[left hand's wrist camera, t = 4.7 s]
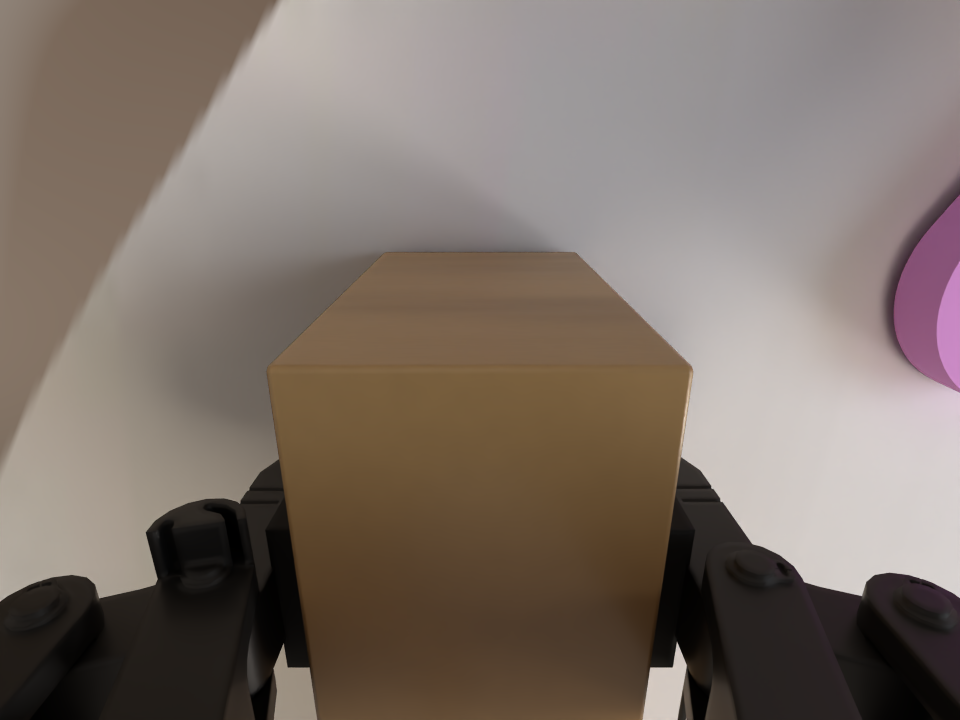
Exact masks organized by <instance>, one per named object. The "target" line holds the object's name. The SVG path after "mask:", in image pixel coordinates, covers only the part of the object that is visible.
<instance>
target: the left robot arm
mask: <svg viewBox="0 0 960 720" xmlns="http://www.w3.org/2000/svg"><path fill="white" fill-rule="evenodd" d="M146 535H147V539H148V543H149V547H150V551H151V555H152V558H153V562H154V566H155V570H156V574H157V578H158V580H157V582H156V585H154V586H150V587H147V588H144V589H140V590H135V591H131V592H126V593H122V594H117V595H113V596H108V597H104V598H99V596H98V593H97V590H96V587H95V584H94V583H92V582H91V581H90V580H89V579H88V578H87V577H81V576H74V575H69V576H61V577H53V578H49V579H46V580H42V581H40V582H36V583H34V584H31V585H29V586H27V587H25V588H23V589H21V590H19V591H17V592H15V593H13V594H11V595H9V596H7V597H6V598H5V599H3V600H2V601H1V602H0V720H274V712H275V703H276V694H277V688H276V681H275V674H274V669H273V668H274V666H275V663H276V661H277V658H278V656H279V653H280V651H281V648H282V646H283V643H284V647H285V653H286V659H287V665H288V667H310V666H309V659H308V652H307V645H306V638H305V631H304V625H303V618H302V611H301V604H300V597H299V590H298V584H297V577H296V570H295V563H294V556H293V549H292V543H291V536H290V529H289V522H288V515H287V508H286V502H285V495H284V488H283V481H282V474H281V467H280V461H279V460H277V461H276V462H275V463H273V464H272V465H270V466H269V467H267V468H266V469H264V470H263V471H262V472H260V474H259V475H258V476H257V478H256V479H255V481H254V482H253V484H252V485H251V486H250V490H249V491H247V492H246V494H245V495H244V496H243V498H242V499H241V503H240V504H239V503H238V502H236V501H232V500H228V499H205V500H200V501H196V502H191V503H188V504H185V505H183V506H180V507H178V508H176V509H173V510H171V511H169V512H168V513H166V514H165V515H163V516H162V517H160V518H159V519H157V520H156V521H155V522H154V523H153V524H152V525H151V527H150V528H149V529H148V530H147V532H146ZM677 642H678V645H679V647H680V649H681V652H682V654H683V657H684V659H685V662H686V664H687V669H686V674H685V680H684V686H683V691H682V697H681V702H680V708H679V714H678V720H960V598H959V597H957V596H956V595H955V594H953V593H951V592H949V591H947V590H945V589H943V588H941V587H939V586H937V585H935V584H934V583H931V582H929V581H926V580H923V579H919V578H917V577H913V576H910V575H903V574H895V573H885V574H879V575H874V576H873V577H872V578H871V579H870V580H868V581H867V582H866V585H865V588H864V592H863V595H862V596H858V595H854V594H849V593H845V592H840V591H836V590H831V589H827V588H822V587H818V586H815V585H811V584H808V583H804V581H803V579H802V578H801V576H800V575H799V573H798V572H797V570H796V569H795V568H794V566H793V565H791V564H790V563H789V562H788V561H786V560H785V559H784V558H782V557H781V556H780V555H778V554H776V553H774V552H772V551H770V550H768V549H765V548H763V547H761V546H757V545H753V544H752V543H751V542H750V540H749V539H748V537H747V536H746V535H745V533H744V532H743V530H742V529H741V528H740V526H739V525H738V523H737V522H736V520H735V519H734V518H733V516H732V515H731V513H730V512H729V511H728V509H727V508H726V506H725V505H724V503H723V502H720V498H719V496H718V495H717V494H716V492H715V491H714V489H711V485H710V484H709V482H708V481H707V479H706V478H705V477H704V475H703V474H702V472H701V471H700V470H699V469H697V468H696V467H694V466H693V465H691V464H690V463H689V462H687V461H686V460H684V459H683V458H681V459H680V466H679V473H678V480H677V487H676V494H675V500H674V507H673V514H672V521H671V528H670V535H669V541H668V548H667V555H666V562H665V569H664V576H663V582H662V589H661V596H660V603H659V610H658V617H657V623H656V630H655V637H654V644H653V651H652V658H651V664H650V667H673V662H674V656H675V650H676V644H677Z"/></svg>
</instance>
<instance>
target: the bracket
mask: <svg viewBox="0 0 960 720" xmlns="http://www.w3.org/2000/svg"><path fill="white" fill-rule="evenodd" d="M894 325H895V331H896V335H897V339H898V342H899V344H900V347H901V349H902V351H903V352H904V354H905V356H906V357H907V358H908V360H909V361H910V362H911V364H912V365H913V366H914V367H916V368H917V369H918V370H919V371H920V372H921V373H923V374H924V375H926V376H927V377H929V378H931V379H933V380H935V381H937V382H939V383H941V384H943V385H945V386H947V387H949V388H951V389H953V390H956V391H958V392H960V195H959V196H958V197H957V198H956V199H955V200H954V202H953V203H952V204H951V205H950V206H949V207H948V208H947V209H946V211H945V212H944V213H943V214H942V215H941V216H940V217H939V218H938V219H937V221H936V222H935V223H934V224H933V225H932V226H931V227H930V229H929V230H928V231H927V232H926V233H925V235H924V236H923V237H922V238H921V240H920V241H919V243H918V244H917V246H916V247H915V249H914V250H913V252H912V254H911V256H910V257H909V259H908V261H907V263H906V265H905V267H904V270H903V272H902V274H901V277H900V280H899V283H898V287H897V291H896V295H895V303H894Z"/></svg>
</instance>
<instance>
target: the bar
mask: <svg viewBox="0 0 960 720" xmlns="http://www.w3.org/2000/svg"><path fill="white" fill-rule="evenodd" d="M692 377H693V369H692V366H691V365H690V364H689V363H688V362H687V361H686V360H685V359H684V358H683V357H682V356H681V355H680V354H679V353H678V352H677V351H676V350H675V349H674V348H673V347H671V346H670V345H669V344H668V343H667V342H666V341H665V340H664V339H663V338H662V337H661V336H660V335H659V334H658V333H657V332H656V331H655V330H654V329H653V328H652V327H651V326H650V325H649V324H648V323H647V322H646V321H645V320H644V319H643V318H642V317H641V316H640V315H639V314H638V313H637V312H636V311H635V310H634V309H633V308H632V307H631V306H630V305H629V304H628V303H627V302H626V301H625V300H624V299H623V298H622V297H621V296H620V295H618V294H617V293H616V292H615V291H614V290H613V289H612V288H611V287H610V286H609V285H608V284H607V283H606V282H605V281H604V280H603V279H602V278H601V277H600V276H599V275H598V274H597V273H596V272H595V271H594V270H593V269H592V268H591V267H590V266H589V265H588V264H587V263H586V262H585V261H584V260H583V259H582V258H581V257H580V256H579V255H578V254H577V253H575V252H386V253H384V254H383V255H382V256H381V257H380V258H379V259H377V260H376V261H375V262H374V263H373V264H372V265H371V266H370V267H369V268H368V269H367V270H366V271H365V272H364V273H363V274H362V275H361V276H360V277H359V278H358V279H357V280H356V281H355V282H354V283H353V284H352V285H351V286H350V287H349V288H348V289H347V290H346V291H345V292H344V293H343V294H342V295H341V296H340V297H339V298H338V299H336V300H335V301H334V302H333V303H332V304H331V305H330V306H329V307H328V308H327V309H326V310H325V311H324V312H323V313H322V314H321V315H320V316H319V317H318V318H317V319H316V320H315V321H314V322H313V323H312V324H311V325H310V326H309V327H308V328H307V329H306V330H305V331H304V332H303V333H302V334H301V335H300V336H299V337H298V338H297V339H295V340H294V341H293V342H292V343H291V344H290V345H289V346H288V347H287V348H286V349H285V350H284V351H283V352H282V353H281V354H280V355H279V356H278V357H277V358H276V359H275V360H274V361H273V362H272V363H271V364H270V365H269V366H268V368H267V379H268V385H269V392H270V399H271V406H272V413H273V420H274V426H275V433H276V440H277V447H278V454H279V461H280V467H281V474H282V481H283V488H284V495H285V502H286V508H287V515H288V522H289V529H290V536H291V543H292V549H293V556H294V563H295V570H296V577H297V584H298V590H299V597H300V604H301V611H302V618H303V625H304V631H305V638H306V645H307V652H308V659H309V666H310V672H311V679H312V686H313V693H314V700H315V707H316V713H317V720H642V719H643V712H644V705H645V699H646V692H647V685H648V678H649V671H650V664H651V658H652V651H653V644H654V637H655V630H656V623H657V617H658V610H659V603H660V596H661V589H662V582H663V576H664V569H665V562H666V555H667V548H668V541H669V535H670V528H671V521H672V514H673V507H674V500H675V494H676V487H677V480H678V473H679V466H680V459H681V453H682V446H683V439H684V432H685V425H686V418H687V411H688V405H689V398H690V391H691V384H692Z"/></svg>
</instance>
